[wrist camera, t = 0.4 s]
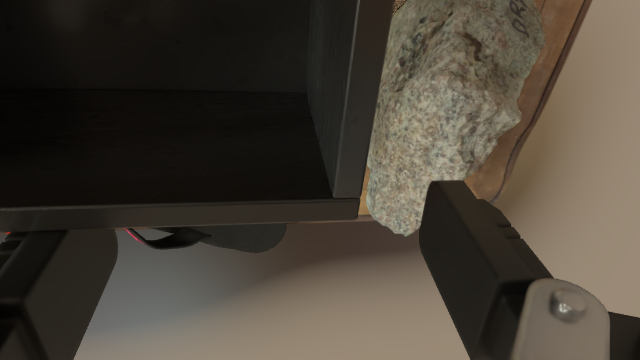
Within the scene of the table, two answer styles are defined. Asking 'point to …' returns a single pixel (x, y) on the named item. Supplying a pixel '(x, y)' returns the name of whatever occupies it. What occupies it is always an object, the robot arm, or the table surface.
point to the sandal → (219, 236)
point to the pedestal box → (186, 111)
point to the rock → (445, 97)
